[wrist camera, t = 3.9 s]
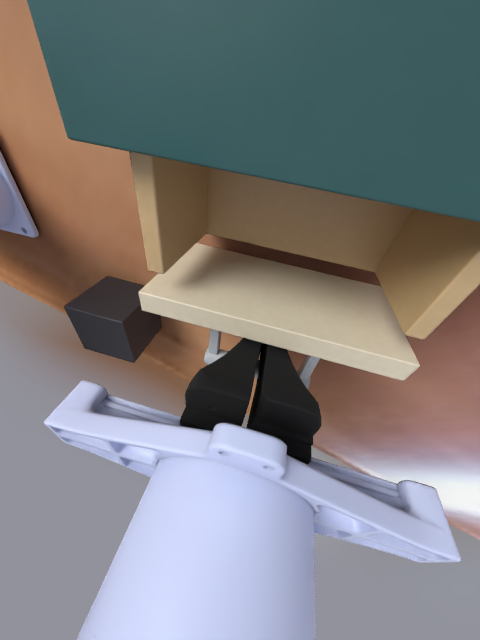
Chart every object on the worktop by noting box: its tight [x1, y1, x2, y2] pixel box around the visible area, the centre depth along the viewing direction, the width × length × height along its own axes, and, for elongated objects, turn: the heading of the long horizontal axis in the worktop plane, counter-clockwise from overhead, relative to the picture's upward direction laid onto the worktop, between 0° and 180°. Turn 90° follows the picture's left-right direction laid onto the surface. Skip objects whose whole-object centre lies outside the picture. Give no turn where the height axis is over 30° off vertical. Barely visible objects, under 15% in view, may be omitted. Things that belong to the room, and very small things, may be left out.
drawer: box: [129, 151, 480, 389], centre depth 11 cm, size 18×13×7 cm
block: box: [64, 276, 161, 363], centre depth 20 cm, size 5×5×5 cm
